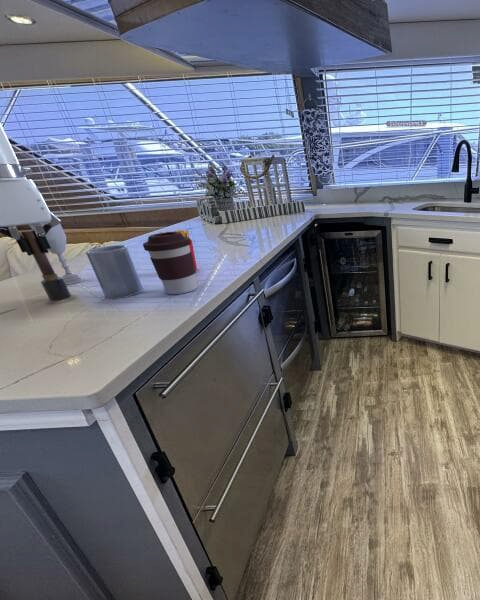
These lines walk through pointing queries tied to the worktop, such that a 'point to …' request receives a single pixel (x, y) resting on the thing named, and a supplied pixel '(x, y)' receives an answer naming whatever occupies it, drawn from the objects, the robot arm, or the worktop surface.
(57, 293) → the brush
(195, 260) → the french fries
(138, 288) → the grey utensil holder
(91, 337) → the worktop surface
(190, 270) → the coffee cup
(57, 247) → the chalice
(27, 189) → the robot arm
